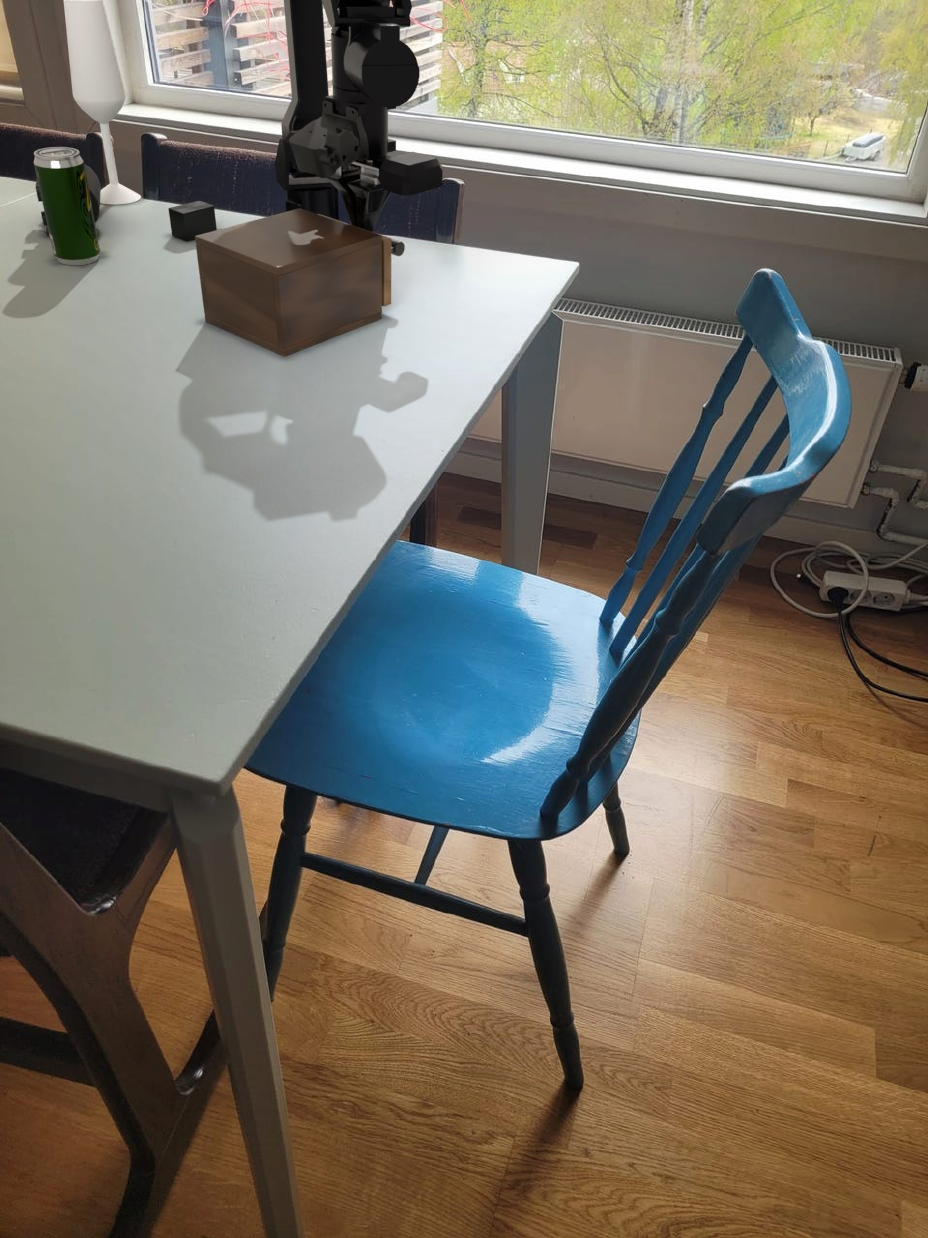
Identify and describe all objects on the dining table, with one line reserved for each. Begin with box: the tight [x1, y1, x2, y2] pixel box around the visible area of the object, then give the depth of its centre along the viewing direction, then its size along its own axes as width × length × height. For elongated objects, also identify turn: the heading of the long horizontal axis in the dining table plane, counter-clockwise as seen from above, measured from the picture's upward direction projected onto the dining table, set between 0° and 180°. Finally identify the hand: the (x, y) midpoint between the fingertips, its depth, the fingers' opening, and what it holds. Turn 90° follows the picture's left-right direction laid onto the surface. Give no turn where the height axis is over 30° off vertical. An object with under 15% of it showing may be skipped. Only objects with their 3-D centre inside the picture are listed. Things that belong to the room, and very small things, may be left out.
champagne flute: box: [63, 0, 142, 206], centre depth 129 cm, size 7×7×24 cm
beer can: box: [33, 146, 101, 266], centre depth 113 cm, size 5×5×12 cm
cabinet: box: [194, 208, 383, 357], centre depth 103 cm, size 15×13×9 cm
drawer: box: [319, 214, 406, 307], centre depth 106 cm, size 18×11×7 cm, turn 140°
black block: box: [168, 200, 218, 242], centre depth 125 cm, size 5×3×4 cm, turn 141°
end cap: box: [35, 163, 102, 238], centre depth 124 cm, size 10×7×7 cm
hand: (362, 240), depth 109 cm, fingers closed
